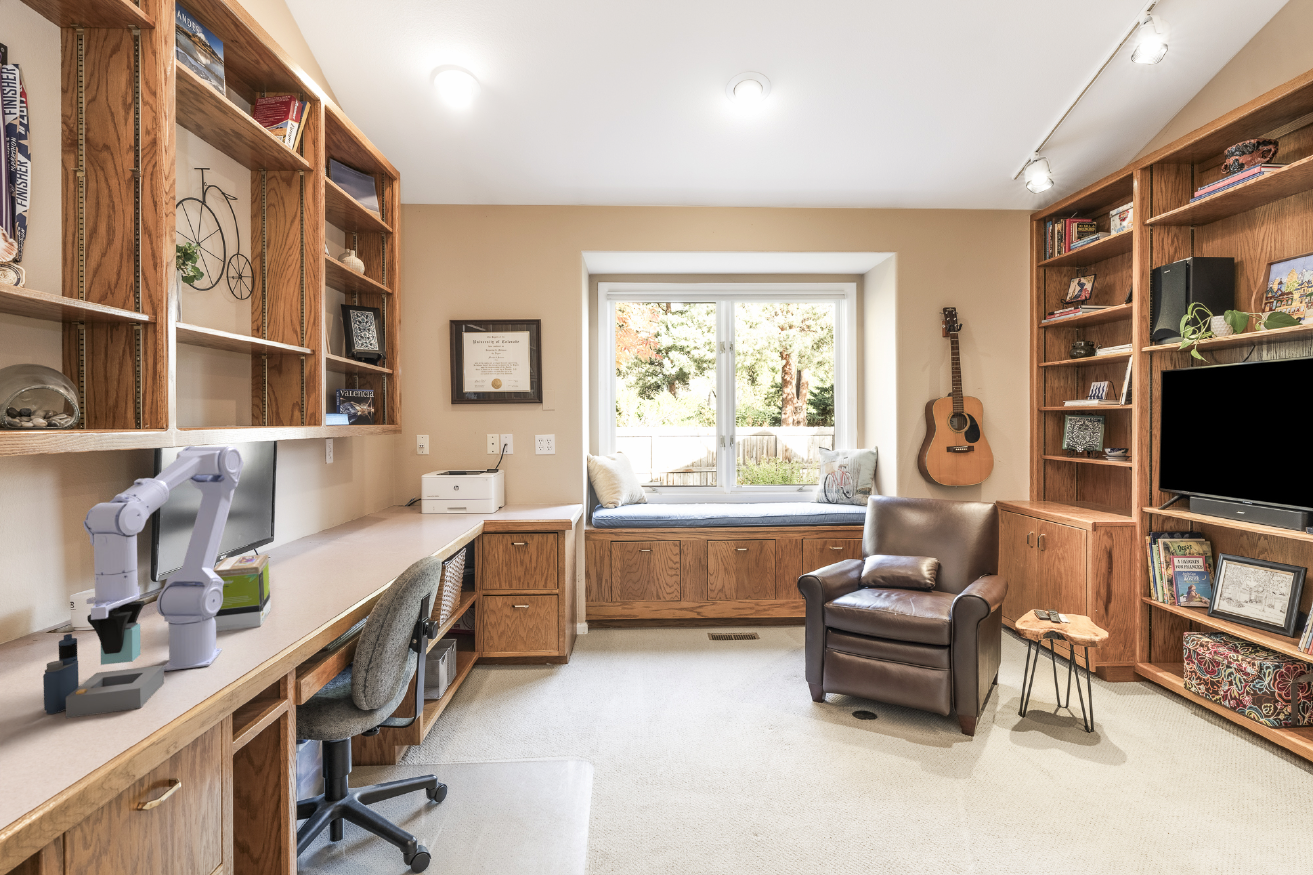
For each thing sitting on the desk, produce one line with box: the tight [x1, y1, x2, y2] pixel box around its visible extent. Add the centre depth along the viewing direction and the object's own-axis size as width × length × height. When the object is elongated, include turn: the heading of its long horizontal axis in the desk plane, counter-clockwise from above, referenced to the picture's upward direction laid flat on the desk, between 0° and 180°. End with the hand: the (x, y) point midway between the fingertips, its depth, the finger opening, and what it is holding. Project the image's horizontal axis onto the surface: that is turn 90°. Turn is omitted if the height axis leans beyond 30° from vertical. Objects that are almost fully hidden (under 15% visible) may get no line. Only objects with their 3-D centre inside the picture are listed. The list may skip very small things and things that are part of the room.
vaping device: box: [42, 633, 80, 715], centre depth 109 cm, size 3×5×12 cm, turn 2°
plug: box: [100, 621, 141, 666], centre depth 112 cm, size 4×4×6 cm
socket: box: [65, 664, 165, 719], centre depth 112 cm, size 11×10×4 cm
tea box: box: [213, 553, 272, 633], centre depth 156 cm, size 15×10×15 cm, turn 23°
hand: (117, 648), depth 112 cm, fingers closed on plug, 4 cm apart
